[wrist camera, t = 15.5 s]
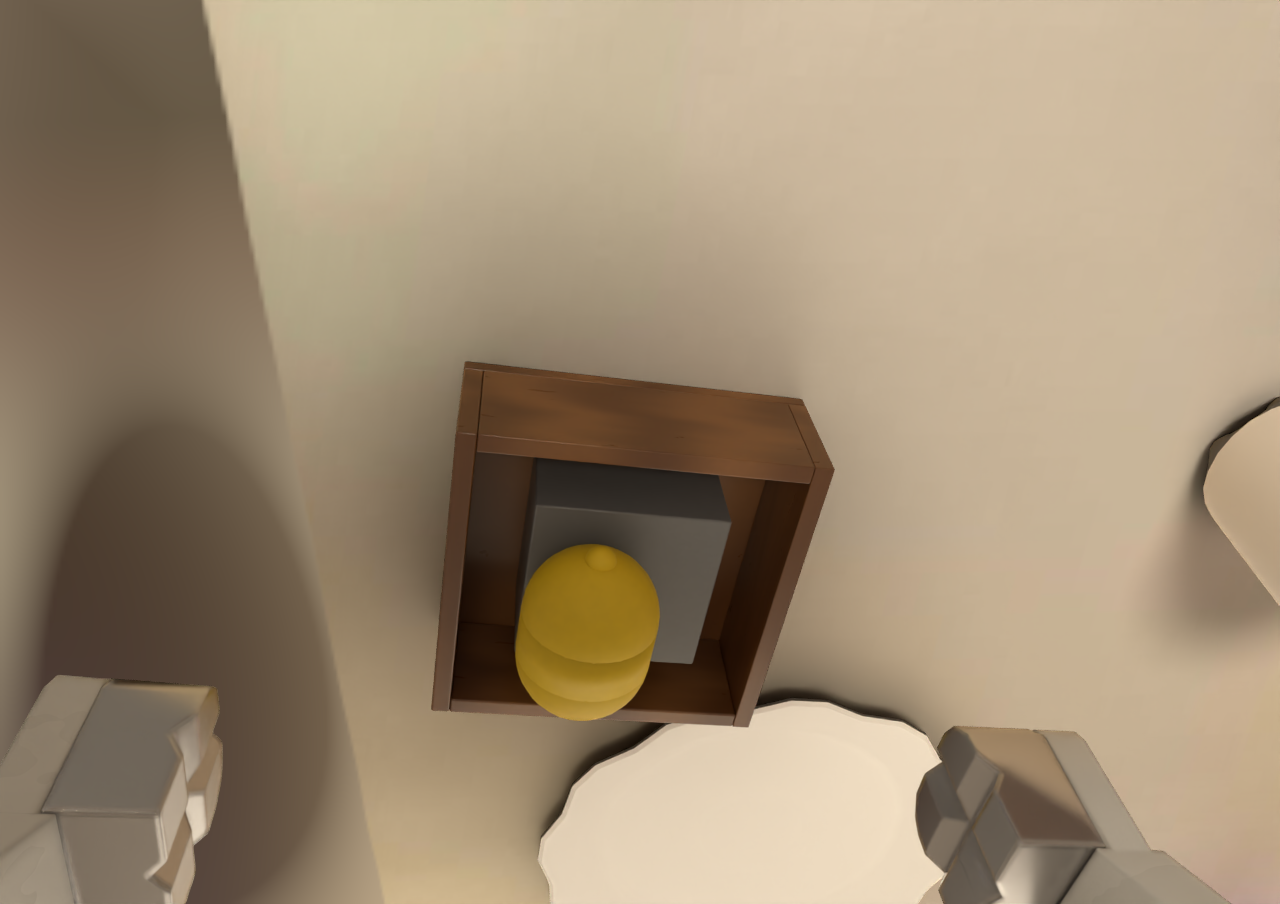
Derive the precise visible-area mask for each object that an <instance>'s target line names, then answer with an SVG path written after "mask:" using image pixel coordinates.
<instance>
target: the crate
mask: <svg viewBox="0 0 1280 904" xmlns="http://www.w3.org/2000/svg"><path fill="white" fill-rule="evenodd" d="M534 457H537V458H547V459H557V460H568V461H578V462H588V463H599V464H609V465H619V466H630V467H640V468H650V469H661V470H671V471H681V472H691V473H702V474H712V475H718V476H719V479H720V483H721V486H722V490H723V494H724V497H725V501H726V504H727V508H728V511H729V515H730V519H731V522H732V523H731V527H730V531H729V534H728V538H727V541H726V545H725V549H724V552H723V556H722V559H721V563H720V567H719V570H718V574H717V577H716V581H715V585H714V588H713V592H712V595H711V599H710V603H709V606H708V610H707V613H706V617H705V621H704V624H703V628H702V631H701V635H700V639H699V642H698V646H697V649H696V653H695V657H694V660H693V663H692V664H684V663H669V662H653V661H650V664H649V668H648V672H647V674H646V677H645V679H644V682H643V684H642V685H641V687H640V689H639V690H638V692H637V693H636V694H635V696H634V697H633V698H632V699H631V700H630V701H629V702H628V703H627V704H626V705H625V706H623V707H622V708H621V709H619V710H617V711H616V712H614V713H613V714H611V715H608V716H606V717H603V718H599V719H602V720H622V721H641V722H660V723H679V724H698V725H717V726H733V727H749V724H750V721H751V718H752V716H753V713H754V710H755V707H756V704H757V701H758V698H759V695H760V692H761V689H762V686H763V683H764V680H765V677H766V674H767V671H768V668H769V665H770V662H771V659H772V656H773V653H774V650H775V647H776V644H777V641H778V638H779V635H780V632H781V629H782V626H783V623H784V620H785V617H786V614H787V611H788V608H789V605H790V602H791V599H792V596H793V593H794V590H795V587H796V584H797V581H798V578H799V575H800V572H801V569H802V566H803V563H804V560H805V557H806V554H807V551H808V548H809V545H810V542H811V539H812V536H813V533H814V530H815V527H816V524H817V521H818V518H819V515H820V512H821V509H822V506H823V503H824V500H825V497H826V494H827V491H828V488H829V485H830V482H831V479H832V476H833V473H834V467H833V465H832V463H831V461H830V459H829V456H828V454H827V452H826V450H825V448H824V446H823V443H822V441H821V439H820V437H819V435H818V433H817V430H816V428H815V426H814V424H813V422H812V420H811V417H810V415H809V413H808V411H807V409H806V406H805V405H804V402H803V400H802V399H796V398H787V397H778V396H769V395H760V394H751V393H742V392H733V391H725V390H716V389H707V388H698V387H689V386H680V385H671V384H662V383H653V382H644V381H635V380H626V379H617V378H609V377H600V376H591V375H582V374H573V373H564V372H555V371H546V370H537V369H528V368H519V367H510V366H502V365H493V364H484V363H475V362H465V364H464V372H463V380H462V388H461V395H460V403H459V411H458V419H457V427H456V435H455V447H454V458H453V469H452V480H451V492H450V503H449V514H448V525H447V537H446V548H445V559H444V571H443V582H442V593H441V604H440V616H439V627H438V638H437V649H436V661H435V672H434V683H433V695H432V706H431V709H432V710H433V711H449V709H450V711H451V712H469V713H488V714H507V715H526V716H545V717H559V716H556V715H554V714H552V713H550V712H549V711H547V710H546V709H544V708H543V707H541V706H540V705H539V704H537V703H536V702H535V701H534V700H533V699H532V697H531V696H530V694H529V693H528V691H527V690H526V688H525V687H524V685H523V684H522V681H521V679H520V676H519V673H518V670H517V666H516V657H515V651H514V638H515V597H516V580H517V573H518V566H519V559H520V552H521V545H522V538H523V530H524V523H525V516H526V509H527V502H528V495H529V488H530V480H531V473H532V466H533V459H534Z"/></svg>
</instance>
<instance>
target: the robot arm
mask: <svg viewBox="0 0 1280 904" xmlns="http://www.w3.org/2000/svg"><path fill="white" fill-rule="evenodd" d="M219 711H220V710H219V701H218V693H217V689H216V688H214V687H212V686H201V685H189V684H176V683H175V684H174V683H163V682H150V681H138V680H125V679H113V678H111V679H102V678H90V677H76V676H62V675H57V676H56V677H55V678H54V679H53V680H52V681H51V682H49V683H48V684H47V685H46V686H45V687H44V688H43V690H42V692H41V694H40V695H39V697H38V699H37V701H36V702H35V704H34V706H33V708H32V709H31V711H30V713H29V715H28V716H27V718H26V720H25V722H24V723H23V725H22V727H21V729H20V730H19V732H18V734H17V736H16V737H15V739H14V741H13V743H12V745H11V746H10V748H9V750H8V751H7V753H6V755H5V757H4V759H3V760H2V762H1V764H0V904H185V903H186V900H187V897H188V893H189V890H190V887H191V884H192V881H193V878H194V875H195V861H194V849H193V845H194V844H195V843H197V842H198V841H199V840H200V839H201V838H203V837H204V836H205V835H206V834H207V833H208V832H209V829H210V825H211V822H212V819H213V815H214V812H215V809H216V804H217V799H218V794H219V789H220V783H221V778H222V777H221V776H222V761H223V753H222V741H221V740H220V739H219V738H218V737H217V736H216V735H215V734H214V733H213V729H214V726H215V723H216V720H217V718H218V714H219ZM937 748H938V751H939V753H940V755H941V758H942V760H943V761H942V762H941V763H939V764H938V765H936V766H935V767H933V768H932V769H930V770H929V771H928V772H926V773H925V774H924V776H923V779H922V781H921V783H920V786H919V788H918V790H917V793H916V805H915V820H916V826H917V832H918V836H919V839H920V842H921V845H922V848H923V850H924V853H925V855H926V856H927V857H928V858H929V859H930V860H931V861H932V862H933V863H934V864H935V865H936V866H937V867H939V868H940V869H941V870H942V871H943V872H944V875H943V878H942V881H941V884H940V887H939V890H938V891H939V893H940V896H941V898H942V901H943V904H1231V903H1230V902H1229V901H1227V900H1226V899H1225V898H1223V897H1222V896H1221V895H1220V894H1218V893H1217V892H1216V891H1214V890H1213V889H1212V888H1210V887H1209V886H1208V885H1207V884H1205V883H1204V882H1203V881H1201V880H1200V879H1199V878H1198V877H1196V876H1195V875H1194V874H1192V873H1191V872H1190V871H1189V870H1187V869H1186V868H1185V867H1183V866H1182V865H1181V864H1180V863H1178V862H1177V861H1176V860H1174V859H1173V858H1172V857H1170V856H1169V855H1168V854H1167V853H1165V852H1164V851H1157V850H1151V849H1150V847H1149V846H1148V844H1147V842H1146V841H1145V839H1144V837H1143V836H1142V834H1141V832H1140V831H1139V829H1138V827H1137V826H1136V824H1135V822H1134V821H1133V819H1132V817H1131V816H1130V814H1129V812H1128V811H1127V809H1126V807H1125V806H1124V804H1123V802H1122V801H1121V799H1120V797H1119V796H1118V794H1117V792H1116V791H1115V789H1114V787H1113V786H1112V784H1111V782H1110V781H1109V779H1108V777H1107V776H1106V774H1105V773H1104V771H1103V769H1102V768H1101V766H1100V764H1099V763H1098V761H1097V759H1096V758H1095V756H1094V754H1093V753H1092V751H1091V749H1090V748H1089V746H1088V744H1087V743H1086V741H1085V740H1084V739H1083V738H1082V737H1081V736H1079V735H1078V734H1077V733H1076V732H1072V731H1051V730H1029V729H1015V728H991V727H968V726H954V727H952V728H951V729H949V730H948V731H947V732H945V734H944V735H943V737H942V739H941V741H940V743H939V745H938V747H937Z"/></svg>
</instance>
